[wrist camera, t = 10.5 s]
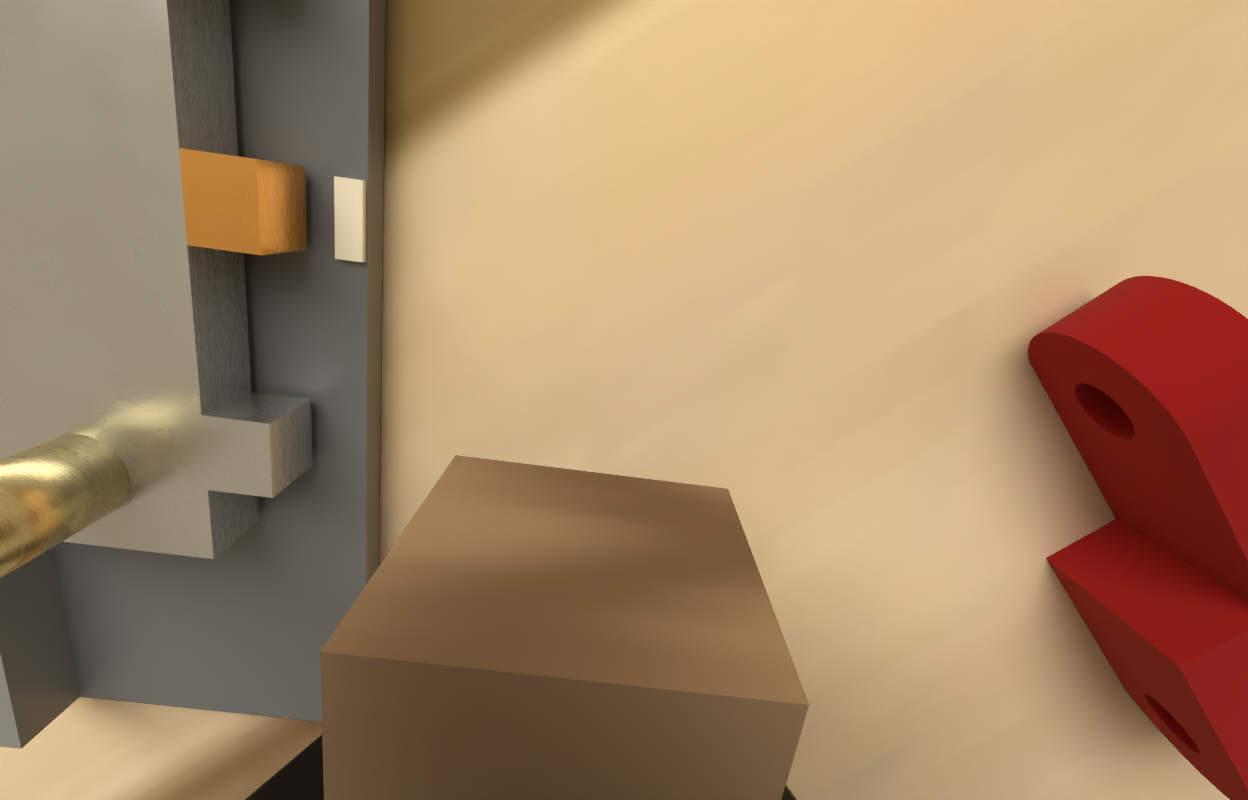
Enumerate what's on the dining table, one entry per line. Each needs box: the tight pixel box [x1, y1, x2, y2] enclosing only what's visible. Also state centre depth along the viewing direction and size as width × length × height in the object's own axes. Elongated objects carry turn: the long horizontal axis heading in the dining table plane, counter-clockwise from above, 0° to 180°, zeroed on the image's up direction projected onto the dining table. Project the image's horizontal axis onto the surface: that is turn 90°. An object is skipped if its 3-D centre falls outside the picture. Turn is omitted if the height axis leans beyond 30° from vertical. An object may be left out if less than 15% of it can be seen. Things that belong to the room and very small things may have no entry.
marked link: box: [320, 455, 809, 800], centre depth 8 cm, size 4×7×4 cm, turn 172°
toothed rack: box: [0, 0, 313, 578], centre depth 12 cm, size 8×18×6 cm, turn 172°
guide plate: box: [0, 0, 386, 748], centre depth 15 cm, size 12×29×3 cm, turn 172°
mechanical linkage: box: [1028, 276, 1248, 800], centre depth 16 cm, size 16×7×5 cm, turn 36°
